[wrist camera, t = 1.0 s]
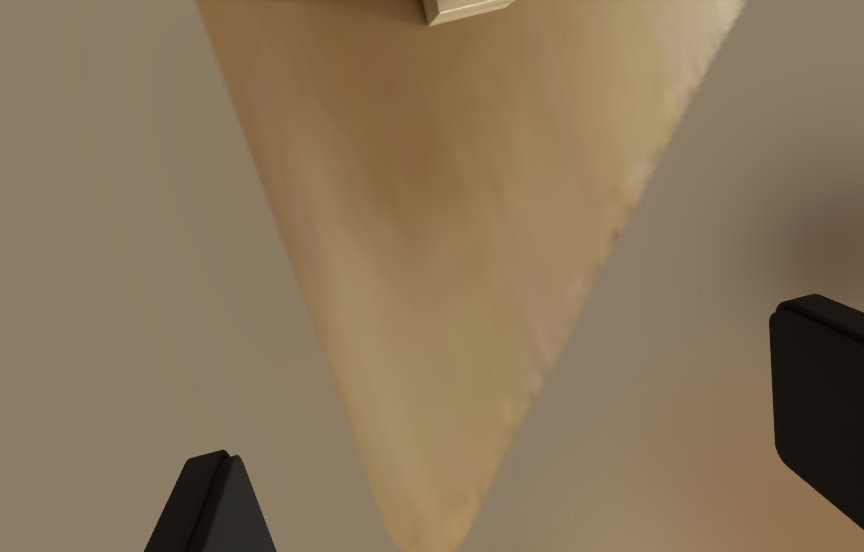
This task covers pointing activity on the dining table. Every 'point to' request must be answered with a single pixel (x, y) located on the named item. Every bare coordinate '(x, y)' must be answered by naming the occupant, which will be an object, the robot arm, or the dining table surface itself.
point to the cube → (459, 9)
